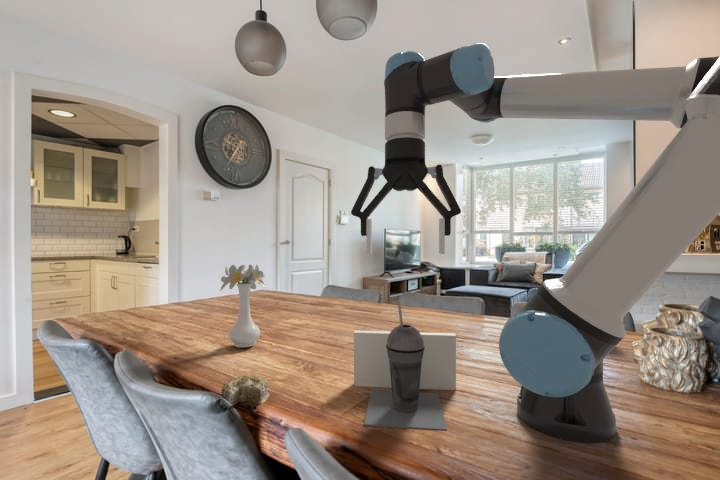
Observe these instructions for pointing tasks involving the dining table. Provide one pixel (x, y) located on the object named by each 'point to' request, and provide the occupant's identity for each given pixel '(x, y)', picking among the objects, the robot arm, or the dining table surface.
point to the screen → (376, 366)
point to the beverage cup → (405, 365)
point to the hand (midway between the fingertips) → (405, 253)
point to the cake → (246, 390)
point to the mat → (387, 416)
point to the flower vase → (243, 303)
